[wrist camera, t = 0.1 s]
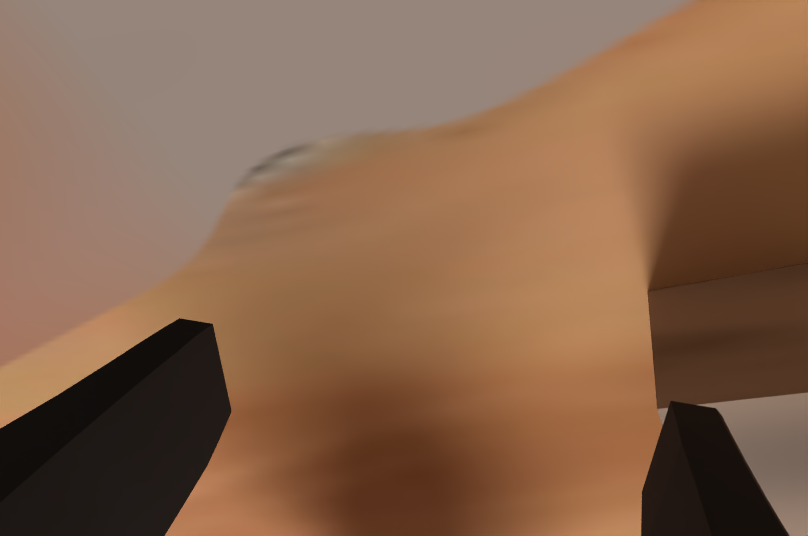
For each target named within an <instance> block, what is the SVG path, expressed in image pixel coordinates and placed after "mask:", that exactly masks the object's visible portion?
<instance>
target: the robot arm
mask: <svg viewBox="0 0 808 536" xmlns="http://www.w3.org/2000/svg"><path fill="white" fill-rule="evenodd" d="M230 414H231V406H230V402H229V397H228V393H227V388H226V383H225V379H224V374H223V369H222V365H221V360H220V356H219V351H218V346H217V342H216V337H215V332H214V328H213V324H210V323H204V322H198V321H192V320H186V319H178V320H176V321H174V322H173V323H171V324H169V325H168V326H166V327H164V328H163V329H161V330H159V331H158V332H156V333H155V334H153V335H151V336H150V337H148V338H147V339H145V340H144V341H142V342H140V343H139V344H137V345H136V346H134V347H133V348H131V349H129V350H128V351H126V352H125V353H123V354H122V355H120V356H119V357H117V358H116V359H114V360H112V361H111V362H109V363H108V364H106V365H105V366H103V367H101V368H100V369H98V370H97V371H95V372H94V373H92V374H90V375H89V376H87V377H86V378H84V379H82V380H81V381H79V382H78V383H76V384H75V385H73V386H71V387H70V388H68V389H67V390H65V391H63V392H62V393H60V394H59V395H57V396H55V397H54V398H52V399H50V400H49V401H47V402H45V403H43V404H42V405H40V406H38V407H37V408H35V409H33V410H31V411H30V412H28V413H26V414H25V415H23V416H21V417H19V418H18V419H16V420H14V421H13V422H11V423H9V424H7V425H6V426H4V427H2V428H1V429H0V536H165V534H166V532H167V531H168V529H169V528H170V526H171V524H172V523H173V521H174V519H175V518H176V516H177V515H178V513H179V511H180V510H181V508H182V507H183V505H184V503H185V502H186V500H187V498H188V497H189V495H190V493H191V492H192V490H193V488H194V487H195V485H196V483H197V482H198V480H199V479H200V477H201V475H202V473H203V472H204V470H205V468H206V467H207V465H208V463H209V461H210V458H211V456H212V454H213V452H214V450H215V448H216V446H217V444H218V441H219V439H220V437H221V434H222V432H223V430H224V428H225V425H226V423H227V421H228V418H229V416H230ZM641 536H790V535H789V534H788V532H787V531H786V529H785V527H784V526H783V524H782V522H781V521H780V519H779V518H778V516H777V514H776V513H775V511H774V509H773V508H772V506H771V504H770V502H769V501H768V499H767V497H766V496H765V494H764V492H763V490H762V489H761V487H760V485H759V483H758V482H757V480H756V478H755V476H754V475H753V473H752V471H751V469H750V467H749V466H748V464H747V462H746V460H745V458H744V456H743V455H742V453H741V451H740V449H739V447H738V445H737V443H736V442H735V440H734V438H733V436H732V434H731V432H730V430H729V428H728V426H727V424H726V422H725V420H724V419H723V417H722V415H721V414H720V412H719V411H718V410H717V409H716V408H712V407H706V406H700V405H694V404H688V403H682V402H676V401H670V404H669V408H668V411H667V414H666V417H665V420H664V423H663V427H662V430H661V433H660V436H659V439H658V443H657V446H656V449H655V452H654V455H653V458H652V462H651V465H650V468H649V471H648V474H647V478H646V481H645V484H644V487H643V490H642V524H641Z"/></svg>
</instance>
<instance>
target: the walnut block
mask: <svg viewBox="0 0 808 536" xmlns="http://www.w3.org/2000/svg"><path fill="white" fill-rule="evenodd" d="M648 302H649V314H650V326H651V338H652V350H653V362H654V374H655V386H656V398H657V409H658V413H659V416H660V419H661V423H662V426H663V423H664V420H665V417H666V414H667V411H668V408H669V404H670V401H676V402H682V403H688V404H694V405H700V406H706V407H712V408H716V409H717V410H718V411H719V412H720V414H721V415H722V417H723V419H724V420H725V422H726V424H727V426H728V428H729V430H730V432H731V434H732V436H733V438H734V440H735V442H736V443H737V445H738V447H739V449H740V451H741V453H742V455H743V456H744V458H745V460H746V462H747V464H748V466H749V467H750V469H751V471H752V473H753V475H754V476H755V478H756V480H757V482H758V483H759V485H760V487H761V489H762V490H763V492H764V494H765V496H766V497H767V499H768V501H769V502H770V504H771V506H772V508H773V509H774V511H775V513H776V514H777V516H778V518H779V519H780V521H781V522H782V524H783V526H784V527H785V529H786V531H787V532H788V534H789V535H790V536H808V263H805V264H800V265H794V266H789V267H783V268H777V269H772V270H766V271H760V272H755V273H749V274H744V275H738V276H732V277H727V278H721V279H715V280H710V281H704V282H699V283H693V284H687V285H682V286H676V287H670V288H665V289H659V290H654V291H648Z"/></svg>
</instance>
